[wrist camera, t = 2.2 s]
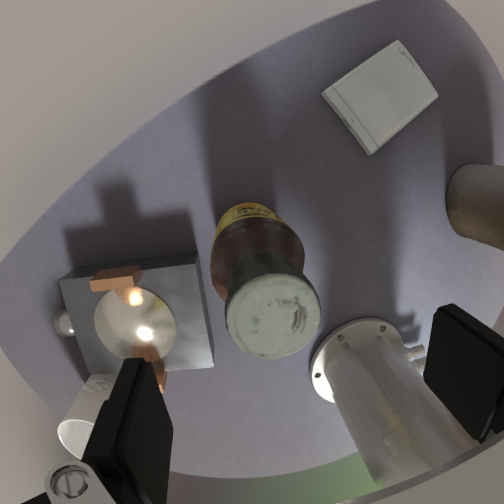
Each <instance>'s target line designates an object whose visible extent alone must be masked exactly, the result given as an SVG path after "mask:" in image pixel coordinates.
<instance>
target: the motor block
mask: <svg viewBox="0 0 504 504" xmlns="http://www.w3.org/2000/svg"><path fill="white" fill-rule="evenodd" d="M59 284H60V288H61V291H62V295H63V298H64V302H65V305H66V309H67V310H58V311H56V313H55V315H54V327H55V330H56V333H57V334H58V335H59V336H60V337H72V336H76V339H77V342H78V345H79V347H80V350H81V353H82V355H83V358H84V361H85V363H86V366H87V368H88V371H89V373H90V374H119V372H120V369H121V367H122V364H123V362H124V360H125V359H126V358H139V357H143V358H144V359H145V361H146V362H149V361H150V362H151V363H152V366H153V369H154V372H155V375H156V379H157V382H158V385H159V388H160V391H161V393H164V389H165V384H166V379H167V372H166V371H175V370H187V369H198V368H207V367H214V344H213V338H212V333H211V327H210V322H209V316H208V311H207V305H206V299H205V293H204V287H203V281H202V275H201V268H200V262H199V255H198V252H195V253H187V254H179V255H171V256H164V257H156V258H148V259H141V260H133V261H126V262H118V263H111V264H103V265H96V266H88V267H81V268H74V269H73V270H71V271H70V272H69V273H68V274H66V275H65V276H64V277H62V278H61V279H60V280H59Z"/></svg>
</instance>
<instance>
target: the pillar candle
mask: <svg viewBox="0 0 504 504" xmlns="http://www.w3.org/2000/svg"><path fill="white" fill-rule="evenodd" d="M446 209H447V214H448V217H449V221H450V224H451V226H452V228H453V229H454V231H455V232H456V233H457V234H459V235H460V236H462V237H465V238H470V239H473V240H476V241H478V242H480V243H484V244H487V245H490V246H492V247H495V248H498V249H500V250H503V251H504V166H499V165H482V164H480V165H478V164H468V165H465V166H463V167H461V168H459V169H458V170H457V171H456V172H455V173H454V175H453V176H452V178H451V180H450V183H449V185H448V189H447V195H446Z"/></svg>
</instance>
